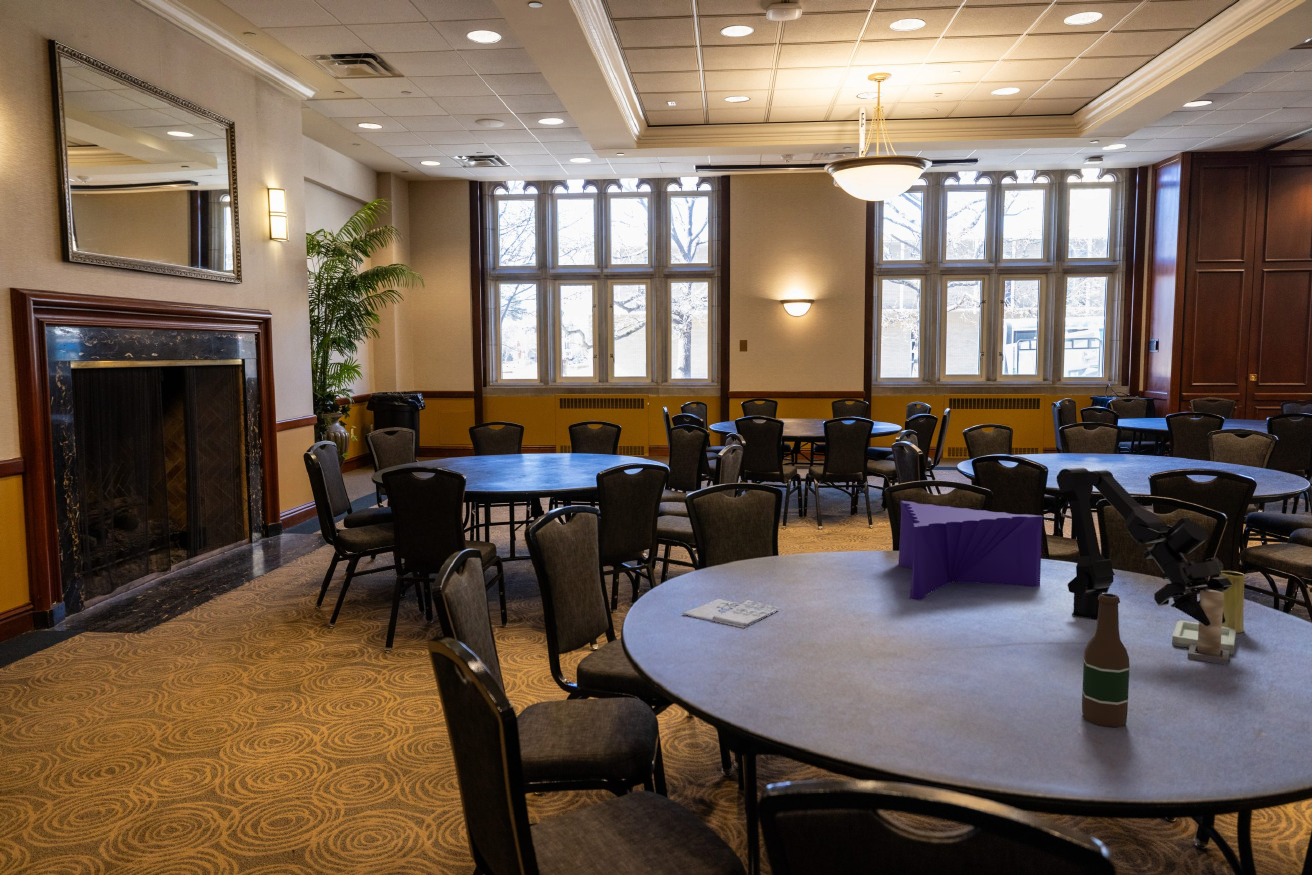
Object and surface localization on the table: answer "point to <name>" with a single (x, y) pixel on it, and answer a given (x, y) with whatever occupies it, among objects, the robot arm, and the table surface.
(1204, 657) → the holder
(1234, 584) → the vase
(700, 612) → the white square relief plate
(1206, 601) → the dowel
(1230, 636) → the tray
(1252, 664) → the table surface
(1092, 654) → the beer bottle
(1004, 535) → the purple jagged triangular block
